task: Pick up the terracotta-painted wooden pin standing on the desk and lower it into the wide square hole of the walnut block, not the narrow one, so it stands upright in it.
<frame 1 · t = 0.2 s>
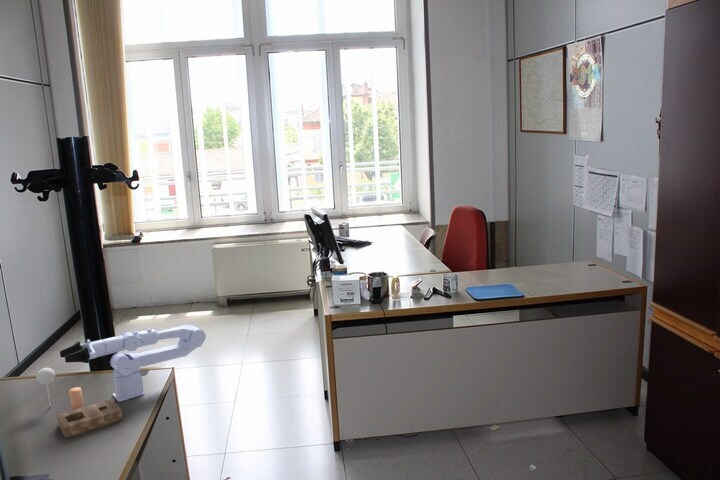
hand: (62, 356, 209), 21 cm above the table, tool horizontal, fingers open, 7 cm apart
lollipop: (50, 407, 218), on the table
socket block: (90, 423, 205), on the table
pin: (78, 410, 214), on the table
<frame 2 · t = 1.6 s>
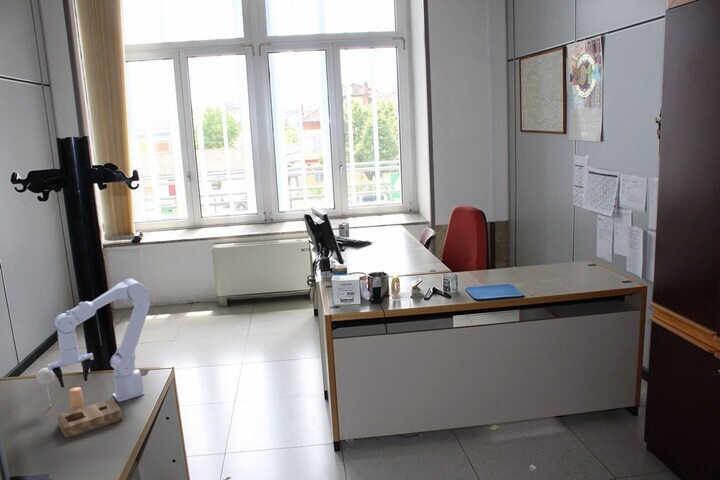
hand: (74, 383, 212), 10 cm above the table, tool pointing down, fingers open, 7 cm apart
nothing on the table moved.
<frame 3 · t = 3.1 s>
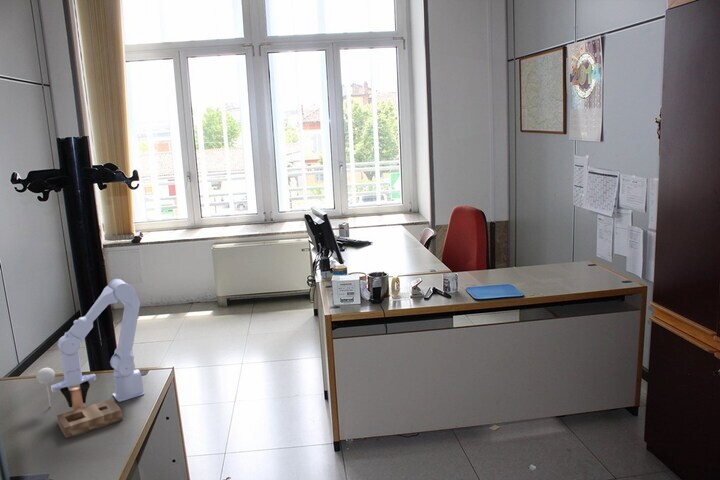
hand: (77, 404, 214), 2 cm above the table, tool pointing down, fingers closed on pin, 4 cm apart
pin: (78, 410, 214), on the table, touching gripper
everything else where it was.
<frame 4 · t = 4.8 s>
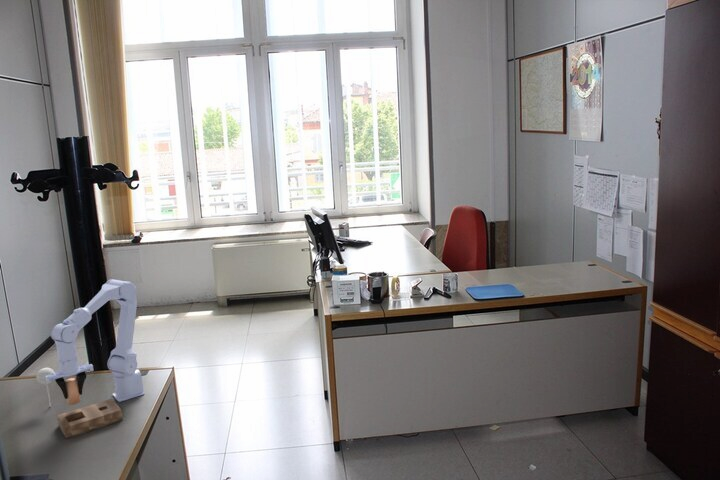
hand: (73, 395, 205), 9 cm above the table, tool pointing down, fingers closed on pin, 4 cm apart
pin: (74, 402, 205), point 7 cm above the table, touching gripper
everything else where it was.
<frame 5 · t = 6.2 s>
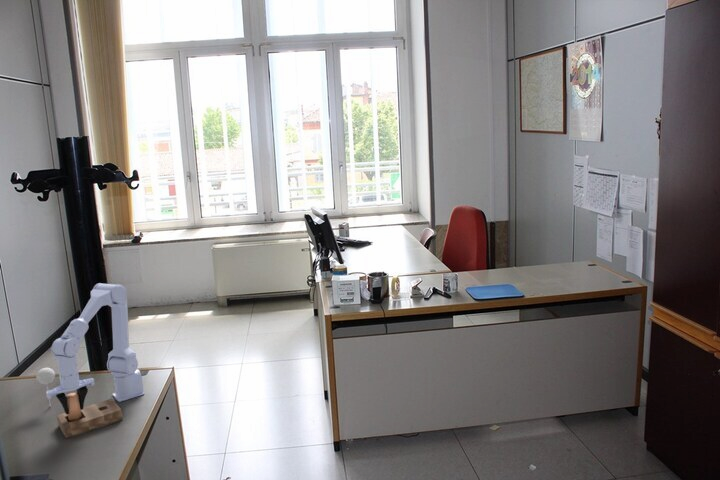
hand: (74, 410, 201), 6 cm above the table, tool pointing down, fingers closed on pin, 4 cm apart
pin: (75, 417, 201), point 4 cm above the table, touching gripper
everything else where it was.
when the fingers open (5 cm above the table, at t = 7.0 s): pin drops 2 cm, resting on socket block.
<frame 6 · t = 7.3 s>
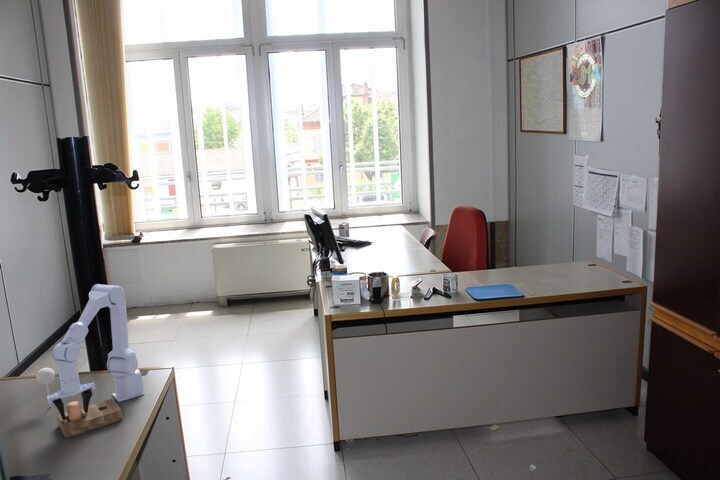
hand: (74, 415, 201), 5 cm above the table, tool pointing down, fingers open, 6 cm apart
pin: (76, 426, 202), point 1 cm above the table, touching socket block
everything else where it was.
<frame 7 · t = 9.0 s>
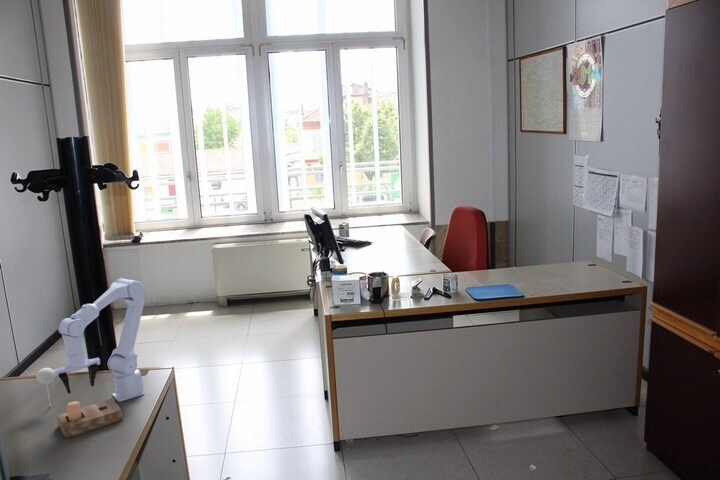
hand: (80, 388, 208), 10 cm above the table, tool pointing down, fingers open, 7 cm apart
nothing on the table moved.
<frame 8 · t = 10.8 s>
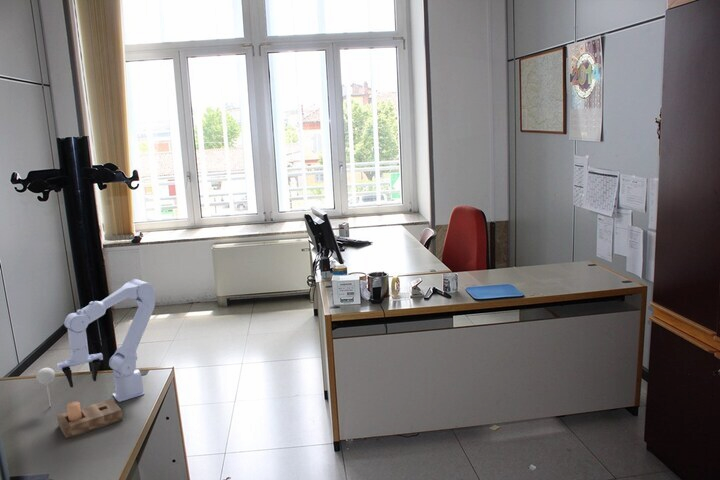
hand: (83, 383, 212), 10 cm above the table, tool pointing down, fingers open, 7 cm apart
nothing on the table moved.
at the end: pin 0.1 cm from the target spot on the socket block, point 0.6 cm above the socket block's base; pin tilted 1°; the gripper is holding nothing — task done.
